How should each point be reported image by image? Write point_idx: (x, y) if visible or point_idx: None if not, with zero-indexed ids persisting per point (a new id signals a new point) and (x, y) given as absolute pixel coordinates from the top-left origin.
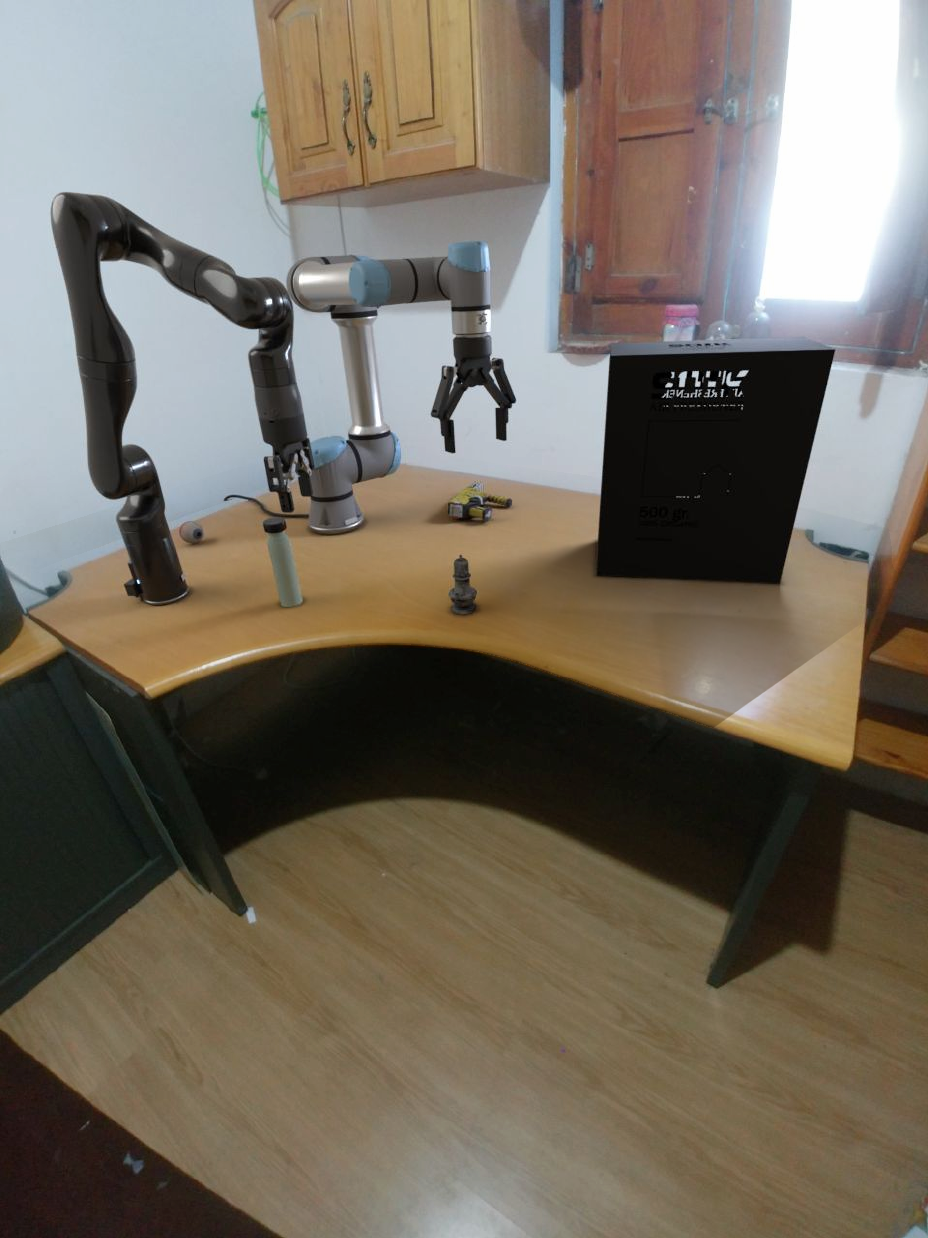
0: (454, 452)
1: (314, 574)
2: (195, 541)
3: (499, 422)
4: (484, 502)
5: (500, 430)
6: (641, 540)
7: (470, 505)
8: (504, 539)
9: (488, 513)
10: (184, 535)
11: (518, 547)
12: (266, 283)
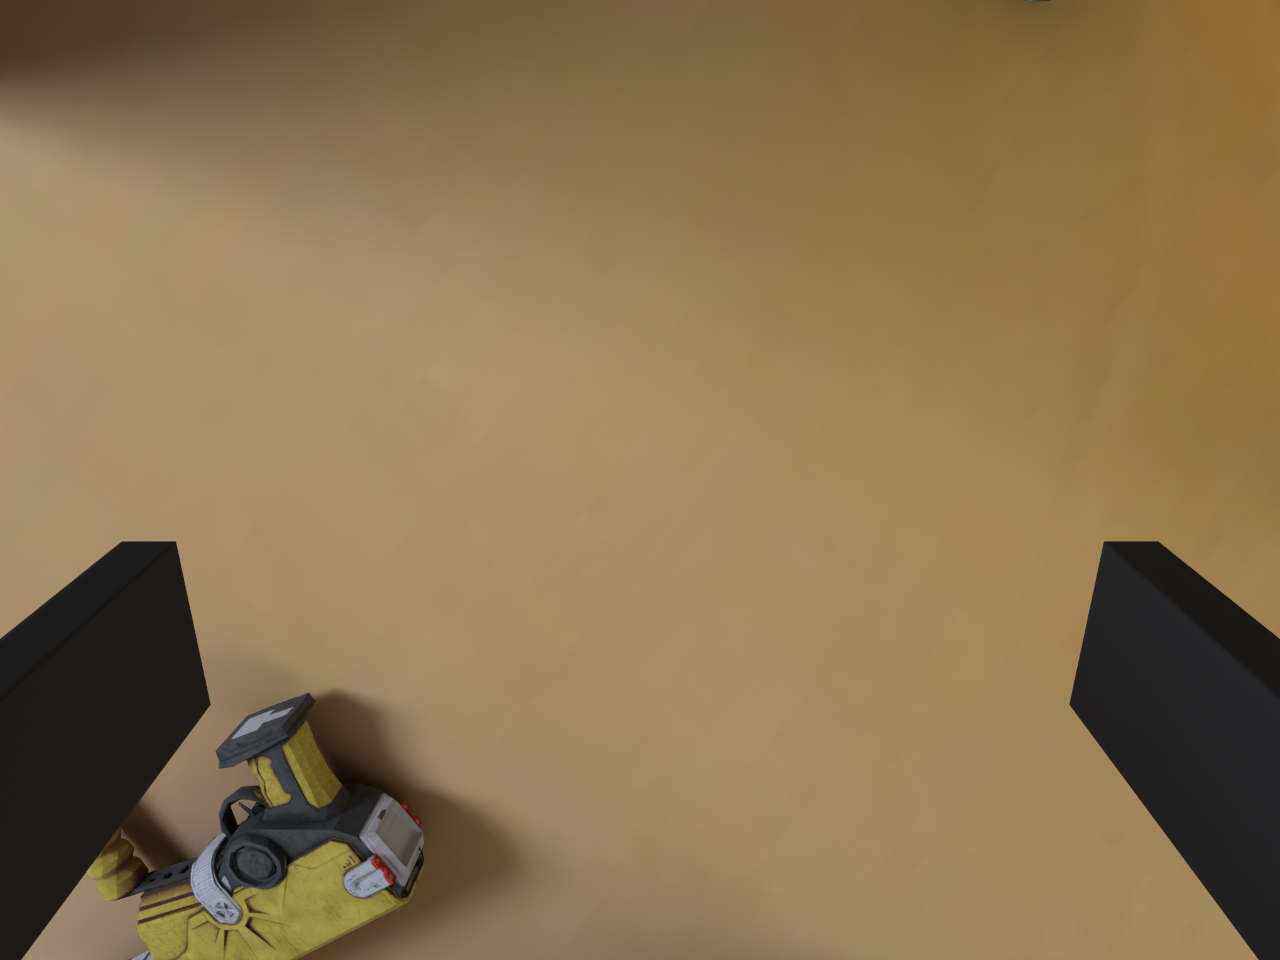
0: (1128, 543)
1: None
2: None
3: (35, 808)
4: (178, 864)
5: (114, 694)
6: None
7: (311, 825)
8: (337, 476)
9: (261, 723)
10: None
11: (336, 344)
12: None
